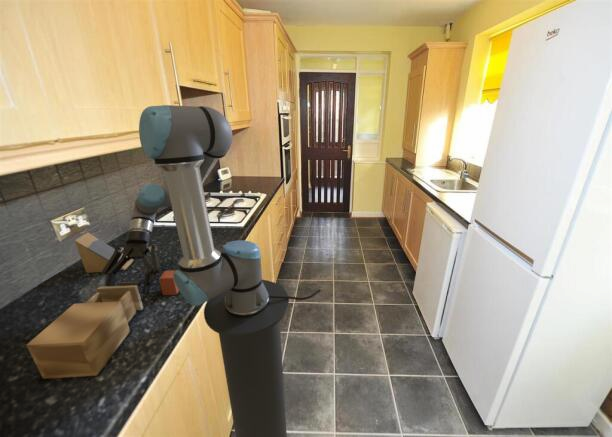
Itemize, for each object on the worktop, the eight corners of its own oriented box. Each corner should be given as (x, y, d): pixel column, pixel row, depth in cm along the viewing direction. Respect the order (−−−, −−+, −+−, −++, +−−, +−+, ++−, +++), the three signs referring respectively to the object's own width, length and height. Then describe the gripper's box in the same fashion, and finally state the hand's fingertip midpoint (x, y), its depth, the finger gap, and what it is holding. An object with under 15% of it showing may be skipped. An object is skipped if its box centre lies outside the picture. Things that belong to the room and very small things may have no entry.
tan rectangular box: (85, 333, 79) (74, 303, 75) (130, 331, 80) (120, 301, 76) (42, 378, 65) (25, 345, 62) (97, 375, 66) (83, 342, 62)
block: (182, 286, 101) (178, 270, 98) (177, 294, 96) (173, 277, 94) (168, 287, 101) (164, 270, 98) (162, 295, 96) (158, 278, 93)
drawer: (117, 298, 93) (110, 276, 90) (151, 296, 94) (146, 275, 90) (76, 342, 75) (65, 316, 72) (118, 339, 76) (110, 314, 72)
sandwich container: (125, 270, 112) (115, 237, 107) (85, 273, 110) (73, 240, 105) (134, 260, 120) (126, 229, 115) (97, 262, 118) (87, 231, 113)
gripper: (177, 235, 102) (168, 294, 93) (113, 238, 101) (97, 298, 92) (168, 228, 95) (157, 291, 86) (100, 230, 94) (81, 294, 85)
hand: (126, 294), depth 89 cm, fingers open, 11 cm apart
